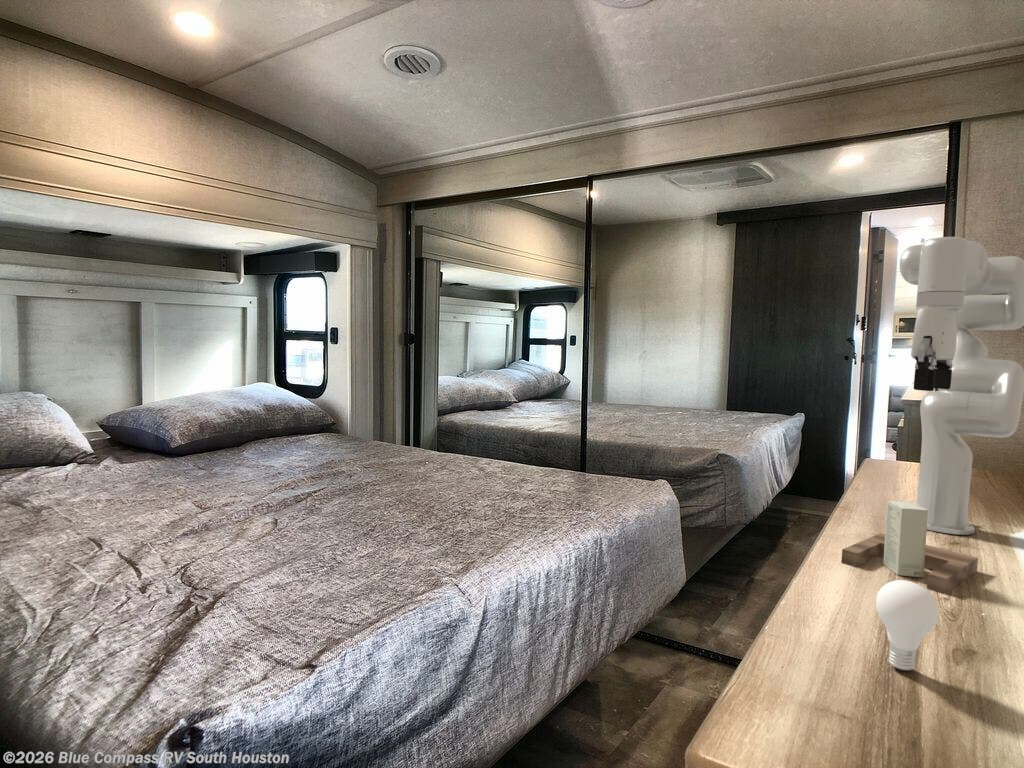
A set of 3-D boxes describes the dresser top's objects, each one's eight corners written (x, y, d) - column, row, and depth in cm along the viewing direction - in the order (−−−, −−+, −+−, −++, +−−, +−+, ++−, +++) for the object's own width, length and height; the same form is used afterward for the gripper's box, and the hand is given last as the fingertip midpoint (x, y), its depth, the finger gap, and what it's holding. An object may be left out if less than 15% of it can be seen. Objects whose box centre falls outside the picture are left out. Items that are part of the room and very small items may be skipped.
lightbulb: (858, 655, 74) (866, 571, 73) (905, 655, 74) (912, 572, 73) (895, 684, 67) (904, 593, 67) (946, 684, 68) (955, 593, 67)
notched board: (879, 545, 118) (880, 533, 118) (976, 571, 106) (978, 557, 105) (841, 562, 107) (842, 549, 107) (944, 593, 95) (946, 579, 94)
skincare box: (924, 578, 101) (930, 510, 100) (896, 575, 102) (902, 508, 101) (907, 565, 107) (913, 501, 106) (880, 562, 108) (886, 499, 107)
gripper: (932, 305, 121) (925, 386, 122) (901, 300, 110) (893, 389, 112) (976, 304, 115) (968, 389, 116) (948, 299, 104) (940, 393, 106)
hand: (932, 389), depth 114 cm, fingers open, 9 cm apart
